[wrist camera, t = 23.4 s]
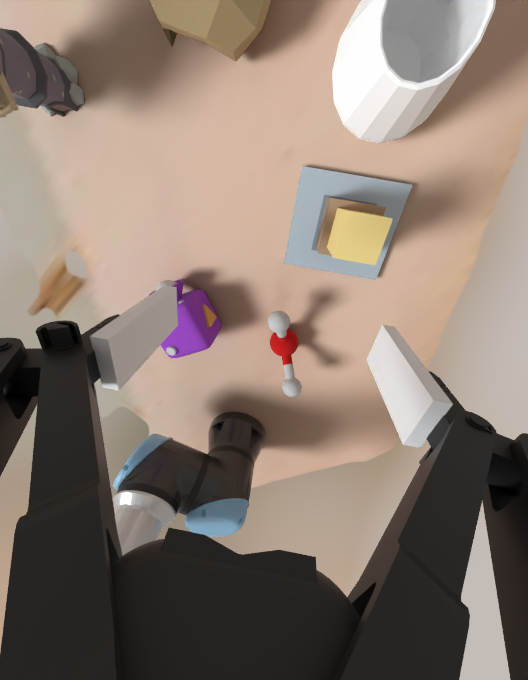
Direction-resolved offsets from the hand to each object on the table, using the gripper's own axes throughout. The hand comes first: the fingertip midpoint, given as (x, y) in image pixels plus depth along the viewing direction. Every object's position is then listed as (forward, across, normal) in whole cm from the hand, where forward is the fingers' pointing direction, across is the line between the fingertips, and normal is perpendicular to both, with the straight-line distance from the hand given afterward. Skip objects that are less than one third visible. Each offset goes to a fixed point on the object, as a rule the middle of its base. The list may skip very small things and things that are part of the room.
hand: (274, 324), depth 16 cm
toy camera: (+31, +17, +15) cm, 38 cm away
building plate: (+31, -8, -4) cm, 32 cm away
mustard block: (+23, -8, -4) cm, 25 cm away
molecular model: (+31, -3, +18) cm, 36 cm away
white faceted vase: (+31, -8, -21) cm, 38 cm away
